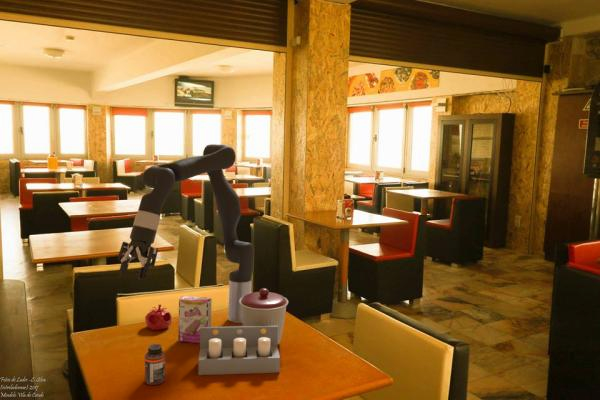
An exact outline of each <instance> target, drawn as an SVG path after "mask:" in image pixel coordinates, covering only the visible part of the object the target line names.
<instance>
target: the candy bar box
mask: <svg viewBox="0 0 600 400" xmlns="http://www.w3.org/2000/svg"><path fill="white" fill-rule="evenodd" d="M212 300H213V299H212V297H207V296H206V297H204V296H202V297H201V296H193V295H182V296H181V297H180V298H179V299H178V339H177V340H178V342H180V343H190V344H192V343H193V344H200V331H201V327H212Z"/></svg>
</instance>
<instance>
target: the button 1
mask: <svg viewBox="0 0 600 400" xmlns="http://www.w3.org/2000/svg"><path fill="white" fill-rule="evenodd" d="M220 356H221V339H218V338H213V339H210V340H209V357H210V358H219V357H220Z"/></svg>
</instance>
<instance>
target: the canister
mask: <svg viewBox="0 0 600 400" xmlns="http://www.w3.org/2000/svg"><path fill="white" fill-rule="evenodd" d="M239 303H240V305H241V313H242V323H241V324H242V326H278V342H277V346H279V344H280V342H281V340H282V336H283V330H284V326H285V325H284V323H285V318H286V317H285V316H286V313H287V312H286V310H287V306H288V304H289V300H288V299H287V297H284V296H283V295H282V294H279V293H276V292H271V291H269V289H268V288H265V287H262V288H260V289H259V291H255V292H251V293H250V294H247V295H245V296H244V297H242V298H241V299H240V300H239Z"/></svg>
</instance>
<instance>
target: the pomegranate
mask: <svg viewBox="0 0 600 400" xmlns="http://www.w3.org/2000/svg"><path fill="white" fill-rule="evenodd" d="M161 308H162V304H158V308H157V307H156V306H154V307H152V308H151V309H150V310H149V312H148V313H147V314H146V315H145V317H144V318H145V319H144V320H145V325H146V326H147V328H149V329H150V330H152V331H161V330H166V329H167V328H169V327H170V325H171V324H172V313H171V312H170V311H168V310H165V309H168V307H163V308H162V309H161Z"/></svg>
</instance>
